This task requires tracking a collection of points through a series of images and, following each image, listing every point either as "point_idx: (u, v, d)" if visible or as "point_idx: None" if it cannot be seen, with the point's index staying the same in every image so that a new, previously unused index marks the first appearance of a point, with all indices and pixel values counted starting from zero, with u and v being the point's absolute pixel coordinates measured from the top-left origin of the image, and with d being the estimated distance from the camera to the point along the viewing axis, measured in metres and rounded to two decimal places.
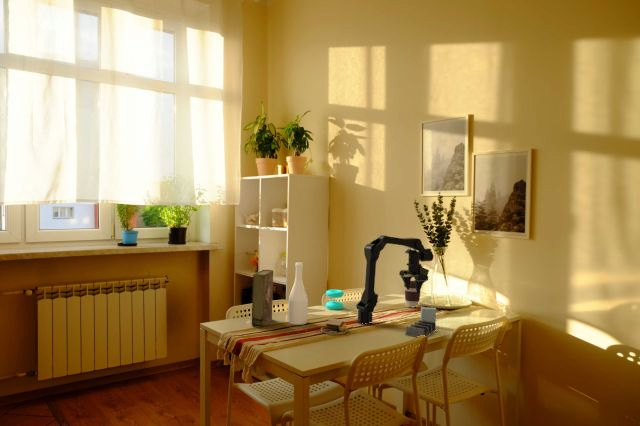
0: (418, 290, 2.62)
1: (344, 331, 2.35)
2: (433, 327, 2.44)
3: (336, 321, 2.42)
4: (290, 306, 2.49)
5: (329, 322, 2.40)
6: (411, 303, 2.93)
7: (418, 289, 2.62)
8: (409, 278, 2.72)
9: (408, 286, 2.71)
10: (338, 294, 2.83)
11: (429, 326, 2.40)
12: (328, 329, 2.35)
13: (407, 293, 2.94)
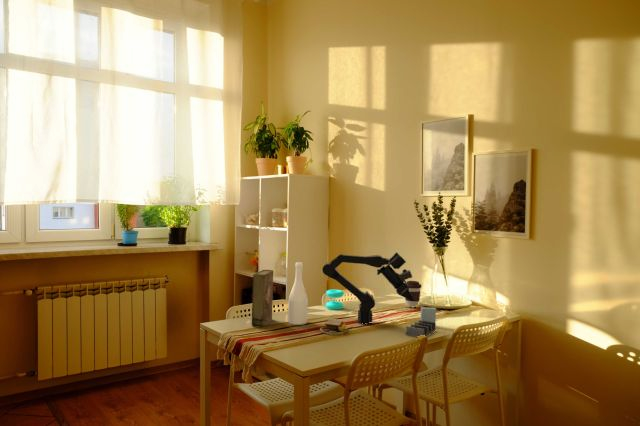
0: (411, 298, 2.49)
1: (343, 331, 2.35)
2: (433, 327, 2.44)
3: (335, 321, 2.42)
4: (290, 306, 2.49)
5: (328, 322, 2.40)
6: (411, 303, 2.93)
7: (410, 298, 2.49)
8: None
9: None
10: (338, 294, 2.83)
11: (429, 326, 2.40)
12: (327, 329, 2.35)
13: None
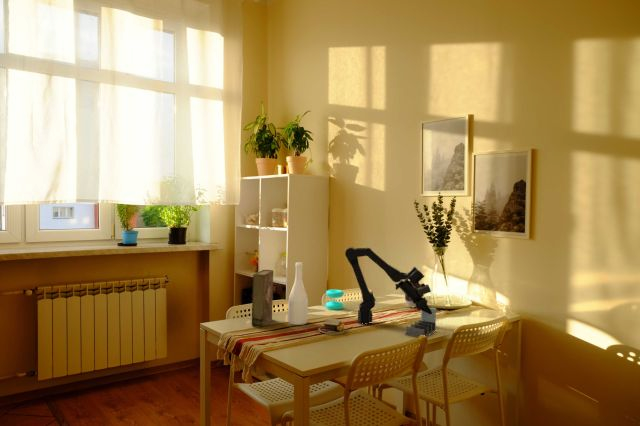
0: (429, 312, 2.51)
1: (342, 331, 2.35)
2: (433, 327, 2.44)
3: (333, 320, 2.42)
4: (290, 306, 2.49)
5: (327, 322, 2.40)
6: (411, 303, 2.93)
7: (428, 311, 2.51)
8: None
9: None
10: (338, 294, 2.83)
11: (429, 326, 2.40)
12: (326, 329, 2.35)
13: None
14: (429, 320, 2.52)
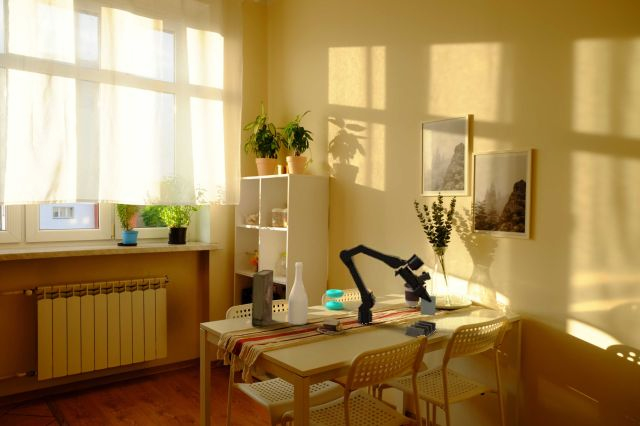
0: (428, 300, 2.46)
1: (341, 331, 2.36)
2: (433, 327, 2.44)
3: (332, 320, 2.42)
4: (290, 306, 2.49)
5: (325, 322, 2.40)
6: (411, 303, 2.93)
7: (427, 299, 2.46)
8: None
9: None
10: (338, 294, 2.83)
11: (429, 326, 2.40)
12: (325, 329, 2.35)
13: (407, 293, 2.94)
14: (429, 308, 2.47)
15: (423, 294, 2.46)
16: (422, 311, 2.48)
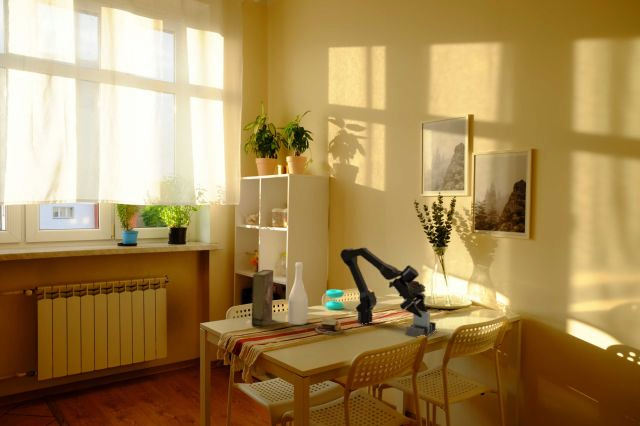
0: (418, 314, 2.36)
1: (340, 331, 2.36)
2: (433, 327, 2.44)
3: (330, 320, 2.42)
4: (290, 306, 2.49)
5: (324, 322, 2.40)
6: None
7: (417, 314, 2.36)
8: (421, 302, 2.45)
9: (425, 310, 2.43)
10: (338, 294, 2.83)
11: None
12: (324, 329, 2.35)
13: None
14: (421, 325, 2.38)
15: (413, 308, 2.37)
16: None
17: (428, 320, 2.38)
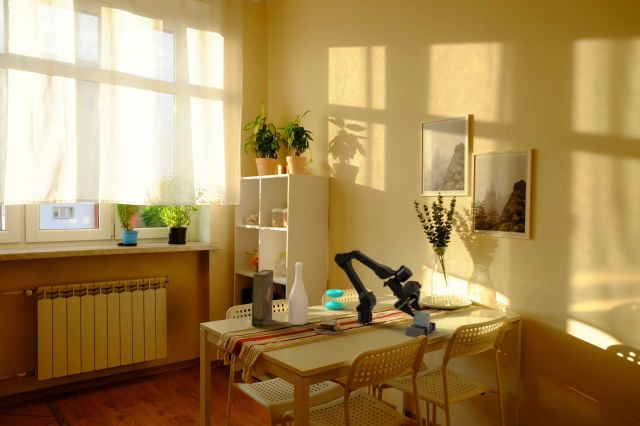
0: (411, 314, 2.37)
1: (339, 330, 2.36)
2: (433, 327, 2.44)
3: (329, 320, 2.42)
4: (290, 306, 2.49)
5: (323, 322, 2.40)
6: None
7: (410, 313, 2.37)
8: (415, 301, 2.47)
9: (419, 310, 2.45)
10: (338, 294, 2.83)
11: None
12: (323, 329, 2.35)
13: None
14: (421, 325, 2.38)
15: (406, 308, 2.38)
16: None
17: (428, 320, 2.38)
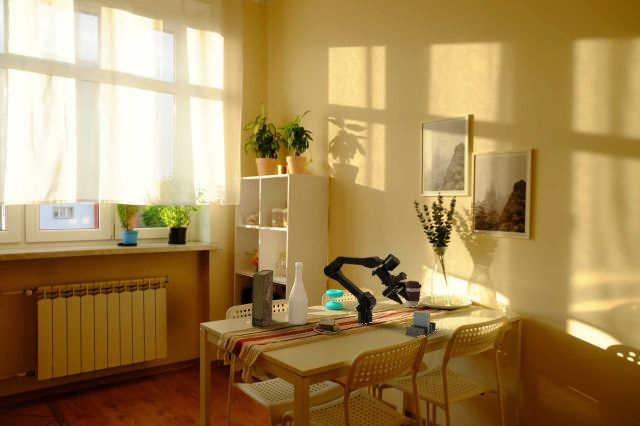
0: (399, 301, 2.40)
1: (338, 330, 2.36)
2: (433, 327, 2.44)
3: (328, 320, 2.42)
4: (290, 306, 2.49)
5: (322, 322, 2.40)
6: (411, 303, 2.93)
7: (398, 301, 2.40)
8: (403, 290, 2.50)
9: (407, 297, 2.48)
10: (338, 294, 2.83)
11: None
12: (322, 329, 2.35)
13: None
14: (421, 325, 2.38)
15: (394, 296, 2.41)
16: None
17: (428, 320, 2.38)
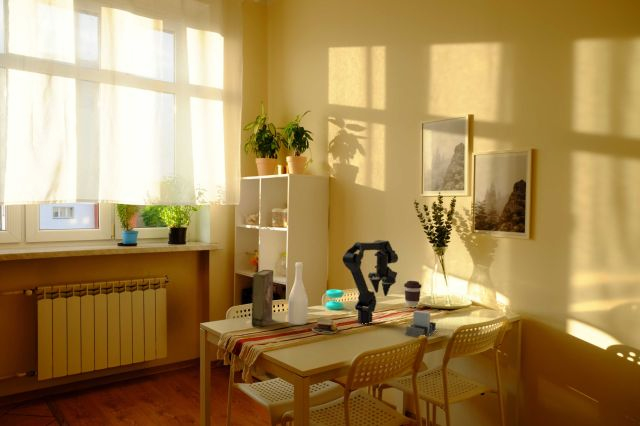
0: (386, 293, 2.60)
1: (336, 330, 2.36)
2: (433, 327, 2.44)
3: (326, 320, 2.42)
4: (290, 306, 2.49)
5: (320, 322, 2.40)
6: (411, 303, 2.93)
7: (386, 292, 2.60)
8: (378, 281, 2.70)
9: (376, 289, 2.69)
10: (338, 294, 2.83)
11: None
12: (320, 329, 2.35)
13: (407, 293, 2.94)
14: (421, 325, 2.38)
15: (386, 286, 2.60)
16: None
17: (428, 320, 2.38)
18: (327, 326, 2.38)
